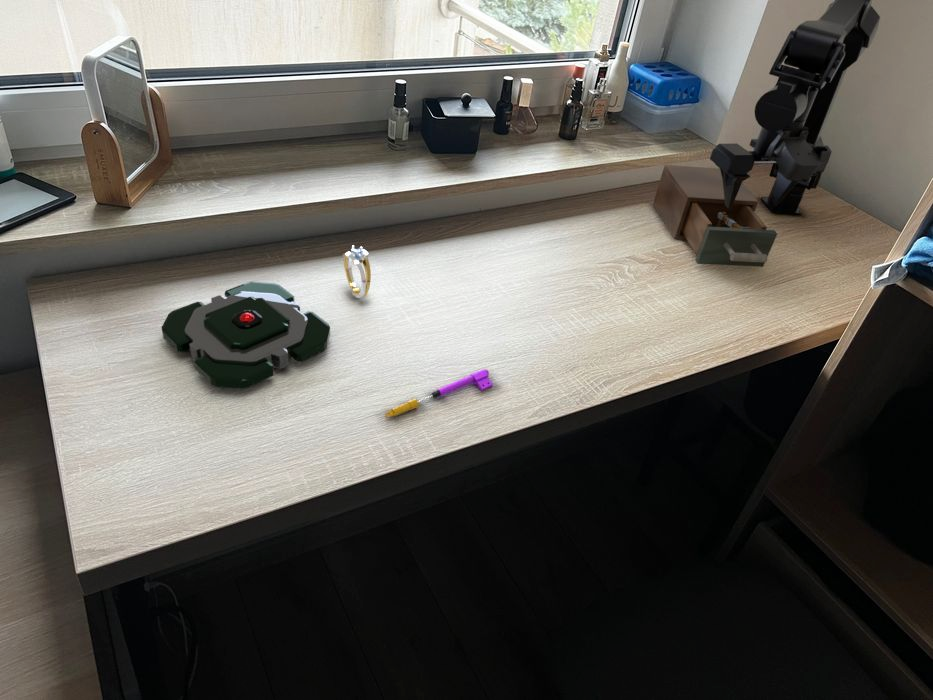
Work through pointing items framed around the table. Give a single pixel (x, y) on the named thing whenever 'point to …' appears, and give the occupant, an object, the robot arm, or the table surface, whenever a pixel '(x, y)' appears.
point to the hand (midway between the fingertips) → (750, 206)
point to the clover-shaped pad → (246, 334)
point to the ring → (358, 258)
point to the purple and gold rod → (447, 391)
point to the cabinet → (691, 193)
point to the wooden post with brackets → (728, 221)
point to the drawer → (727, 235)
